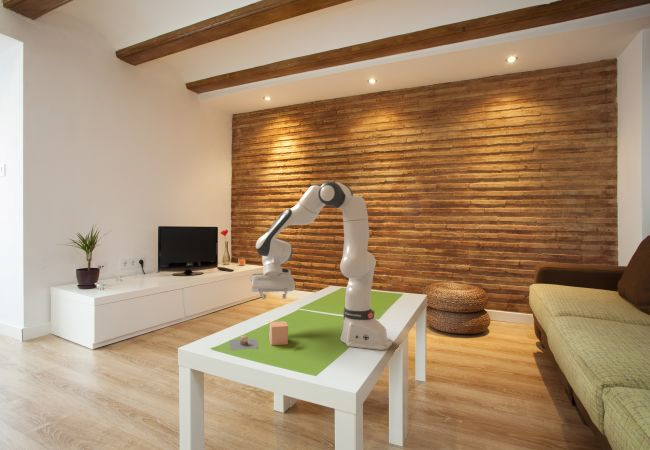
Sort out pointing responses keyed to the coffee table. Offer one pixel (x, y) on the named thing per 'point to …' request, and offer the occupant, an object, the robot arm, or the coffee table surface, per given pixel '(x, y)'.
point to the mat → (236, 345)
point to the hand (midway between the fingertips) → (274, 298)
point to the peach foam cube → (278, 333)
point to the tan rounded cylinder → (243, 340)
